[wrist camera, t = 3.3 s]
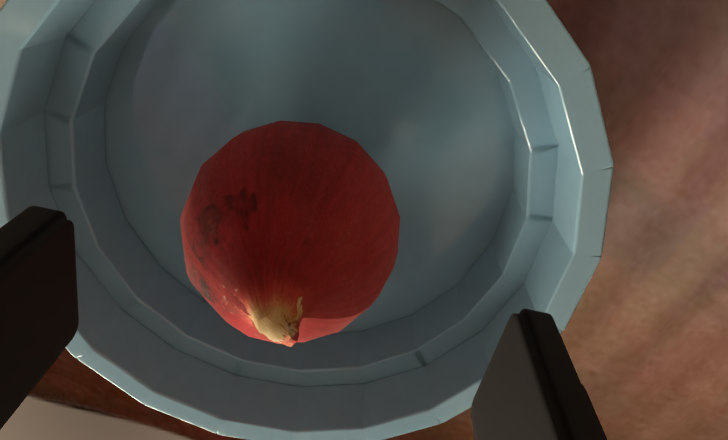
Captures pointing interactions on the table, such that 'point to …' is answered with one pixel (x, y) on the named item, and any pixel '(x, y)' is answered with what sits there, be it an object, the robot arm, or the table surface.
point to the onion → (290, 231)
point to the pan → (344, 115)
